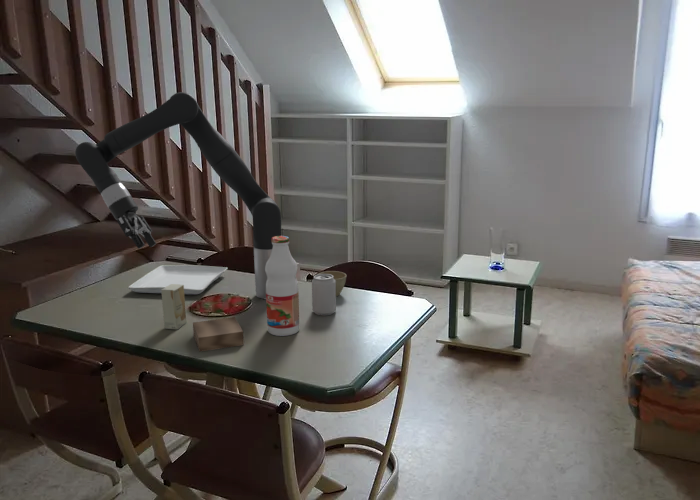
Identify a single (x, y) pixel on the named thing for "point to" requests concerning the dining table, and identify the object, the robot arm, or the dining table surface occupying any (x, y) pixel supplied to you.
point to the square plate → (178, 278)
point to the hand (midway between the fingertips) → (147, 246)
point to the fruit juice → (282, 290)
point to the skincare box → (173, 306)
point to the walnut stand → (218, 334)
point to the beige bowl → (337, 280)
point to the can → (323, 294)
